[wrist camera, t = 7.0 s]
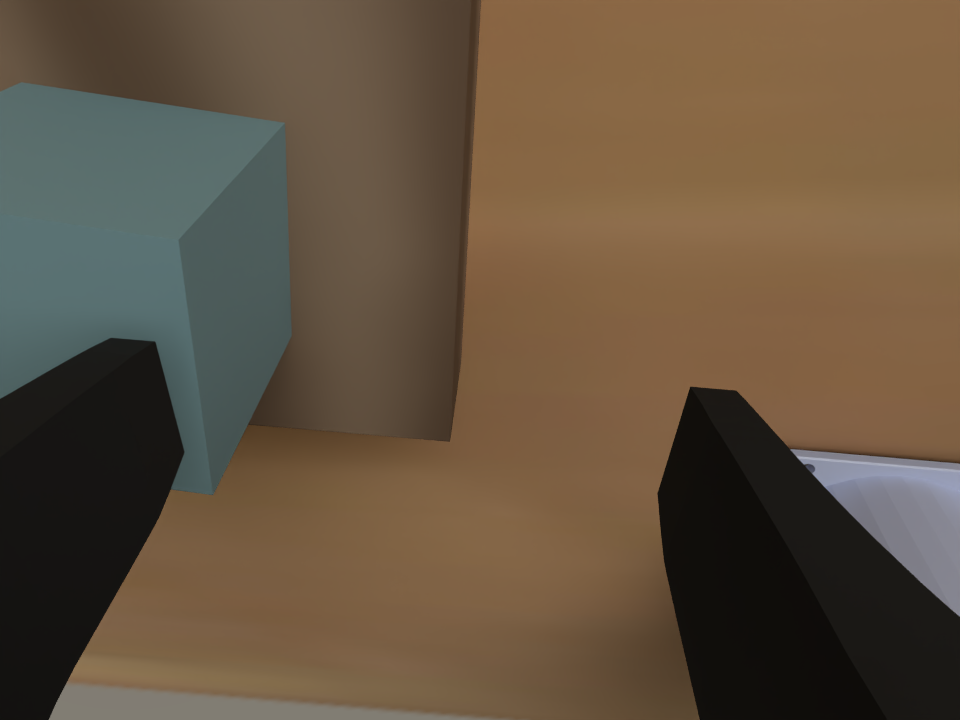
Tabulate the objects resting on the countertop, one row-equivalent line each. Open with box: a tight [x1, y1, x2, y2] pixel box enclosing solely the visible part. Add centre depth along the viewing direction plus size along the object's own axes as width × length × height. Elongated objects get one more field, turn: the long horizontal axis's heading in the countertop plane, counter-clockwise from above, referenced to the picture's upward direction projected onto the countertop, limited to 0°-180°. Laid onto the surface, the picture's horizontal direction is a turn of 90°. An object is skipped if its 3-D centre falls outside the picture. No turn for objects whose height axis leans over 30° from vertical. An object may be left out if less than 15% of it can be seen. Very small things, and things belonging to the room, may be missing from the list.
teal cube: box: [0, 82, 292, 495], centre depth 13 cm, size 5×5×5 cm
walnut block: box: [0, 0, 481, 442], centre depth 16 cm, size 12×12×4 cm
